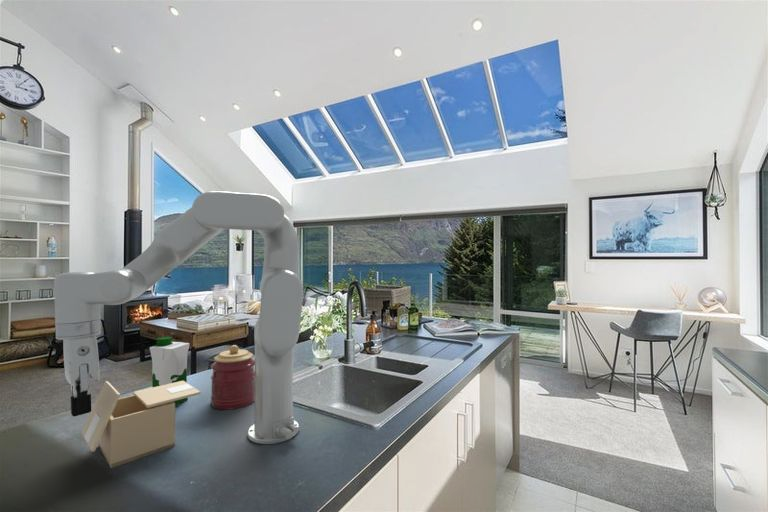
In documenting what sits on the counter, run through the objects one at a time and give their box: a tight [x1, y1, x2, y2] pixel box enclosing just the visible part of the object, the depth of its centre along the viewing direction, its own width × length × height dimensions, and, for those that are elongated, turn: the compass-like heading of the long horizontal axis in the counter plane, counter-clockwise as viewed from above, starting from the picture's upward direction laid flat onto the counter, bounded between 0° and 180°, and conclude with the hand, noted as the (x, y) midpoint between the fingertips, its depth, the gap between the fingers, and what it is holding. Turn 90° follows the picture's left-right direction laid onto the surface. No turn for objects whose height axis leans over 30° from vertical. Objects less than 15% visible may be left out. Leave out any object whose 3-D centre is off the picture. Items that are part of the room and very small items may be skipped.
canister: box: [210, 344, 255, 410], centre depth 114 cm, size 13×13×18 cm
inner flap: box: [132, 381, 202, 408], centre depth 92 cm, size 12×12×1 cm
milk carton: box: [149, 336, 190, 407], centre depth 113 cm, size 9×9×20 cm
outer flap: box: [80, 380, 121, 452], centre depth 82 cm, size 12×12×1 cm
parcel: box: [98, 394, 176, 469], centre depth 87 cm, size 13×12×10 cm
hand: (81, 413), depth 79 cm, fingers closed
